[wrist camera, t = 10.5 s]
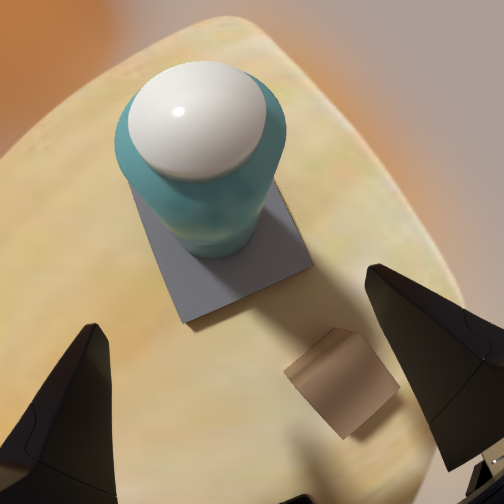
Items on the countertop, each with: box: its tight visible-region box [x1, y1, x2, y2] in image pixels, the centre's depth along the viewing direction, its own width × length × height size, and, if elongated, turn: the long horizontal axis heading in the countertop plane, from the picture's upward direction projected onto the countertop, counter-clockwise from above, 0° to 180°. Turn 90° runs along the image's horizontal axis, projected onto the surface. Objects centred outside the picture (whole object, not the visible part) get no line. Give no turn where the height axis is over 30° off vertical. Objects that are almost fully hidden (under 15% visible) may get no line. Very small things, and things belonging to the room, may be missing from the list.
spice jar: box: [115, 61, 286, 260], centre depth 15 cm, size 6×6×13 cm
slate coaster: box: [128, 180, 314, 324], centre depth 22 cm, size 12×10×1 cm
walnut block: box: [283, 328, 400, 440], centre depth 19 cm, size 5×5×5 cm
